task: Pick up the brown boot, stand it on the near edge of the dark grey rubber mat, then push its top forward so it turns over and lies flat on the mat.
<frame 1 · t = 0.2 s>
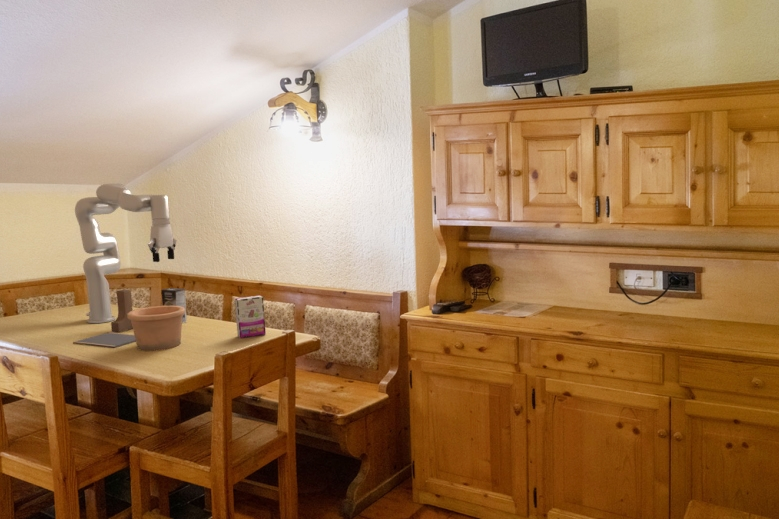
hand: (163, 260, 289), 31 cm above the table, tool pointing down, fingers open, 9 cm apart
mat: (111, 340, 270), on the table
candy bar box: (251, 336, 271), on the table
coffee box: (175, 323, 302), on the table
pottery: (159, 346, 259), on the table
brown boot: (123, 330, 289), on the table
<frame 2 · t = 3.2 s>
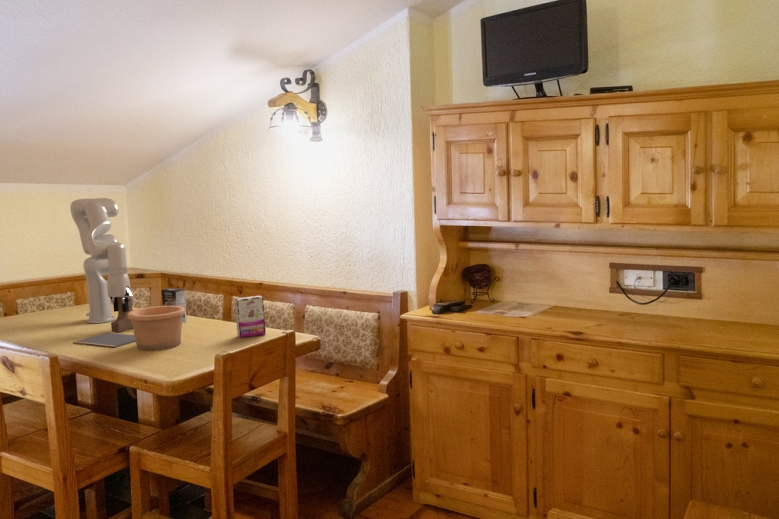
hand: (121, 311, 288), 9 cm above the table, tool pointing down, fingers closed on brown boot, 4 cm apart
brown boot: (123, 330, 289), on the table, touching gripper
everything else where it was.
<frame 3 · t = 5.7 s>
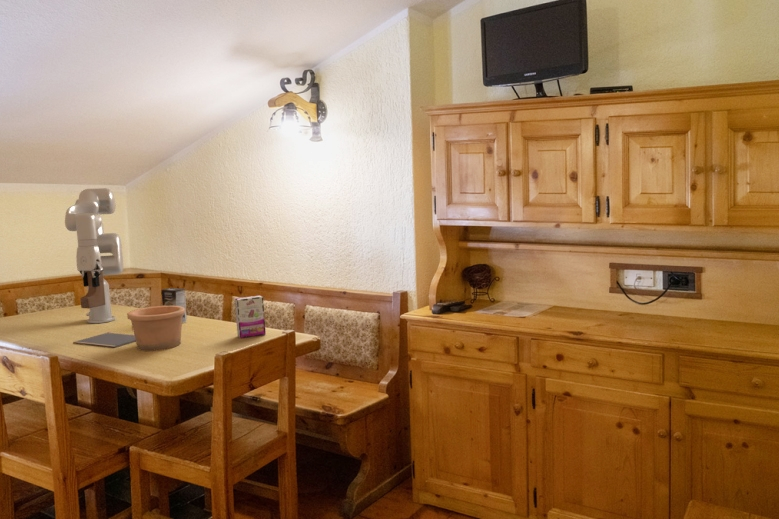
hand: (91, 285, 272), 23 cm above the table, tool pointing down, fingers closed on brown boot, 4 cm apart
brown boot: (93, 306, 273), point 14 cm above the table, touching gripper
everything else where it was.
when the fingers open (10 cm above the table, at t = 8.4 s): brown boot stays where it is, resting on mat.
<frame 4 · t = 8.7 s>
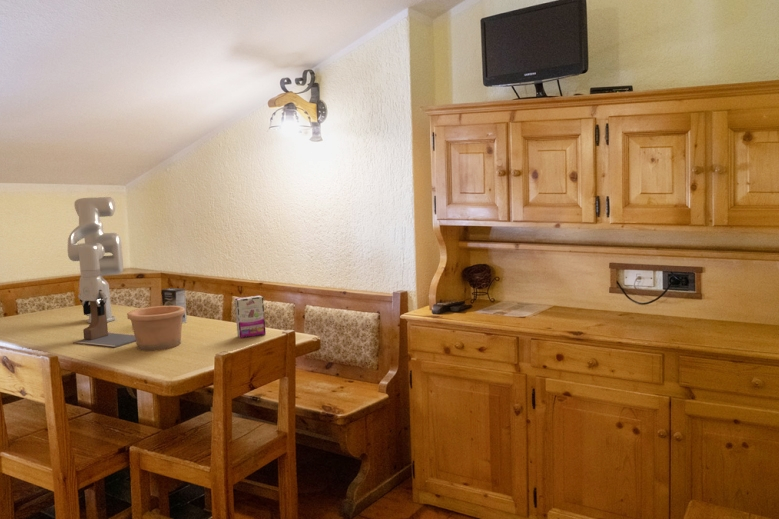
hand: (94, 314, 273), 11 cm above the table, tool pointing down, fingers open, 7 cm apart
brown boot: (96, 337, 274), resting on mat
everything else where it was.
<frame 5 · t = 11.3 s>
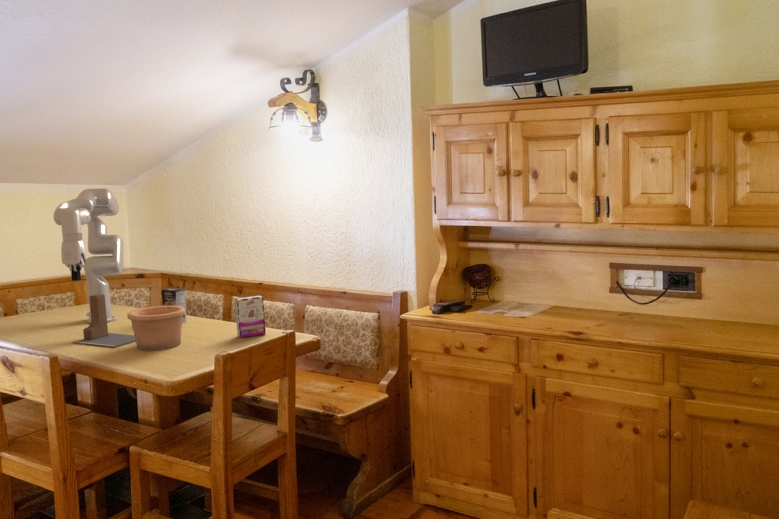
hand: (76, 280, 275), 25 cm above the table, tool pointing down, fingers closed
nothing on the table moved.
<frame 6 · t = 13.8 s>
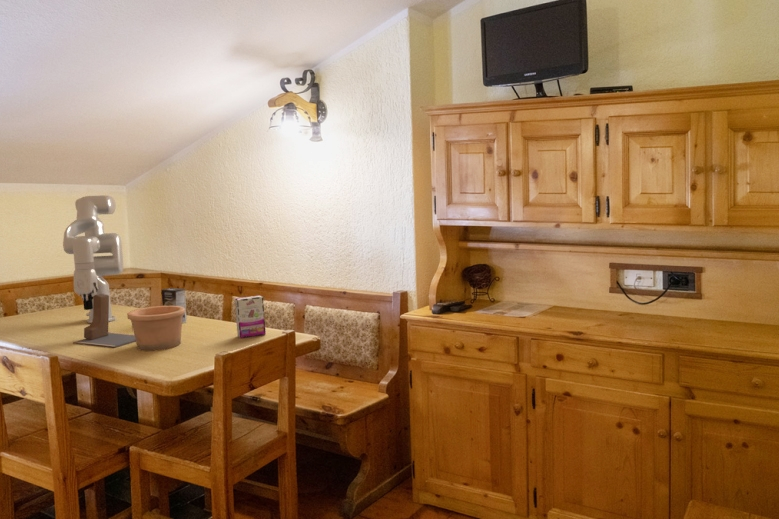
hand: (88, 309, 274), 13 cm above the table, tool pointing down, fingers closed
brown boot: (96, 337, 274), point 1 cm above the table, touching gripper, mat
everything else where it was.
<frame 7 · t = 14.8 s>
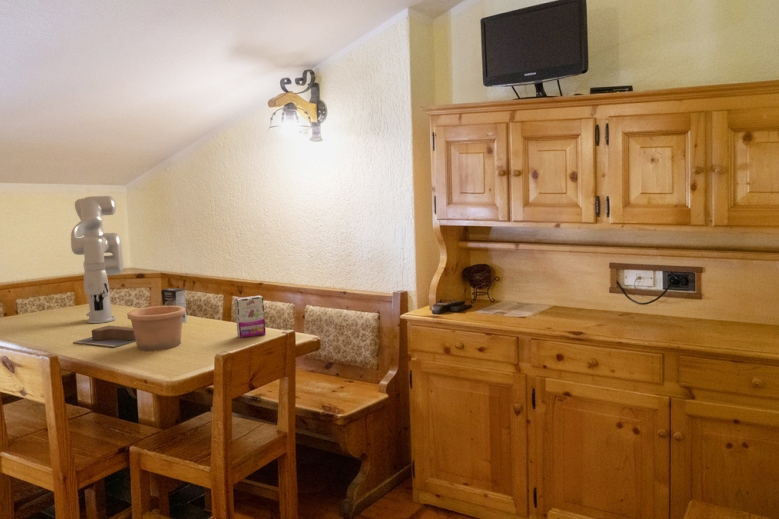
hand: (99, 310, 271), 13 cm above the table, tool pointing down, fingers closed
brown boot: (100, 332, 273), point 3 cm above the table, touching mat
everything else where it was.
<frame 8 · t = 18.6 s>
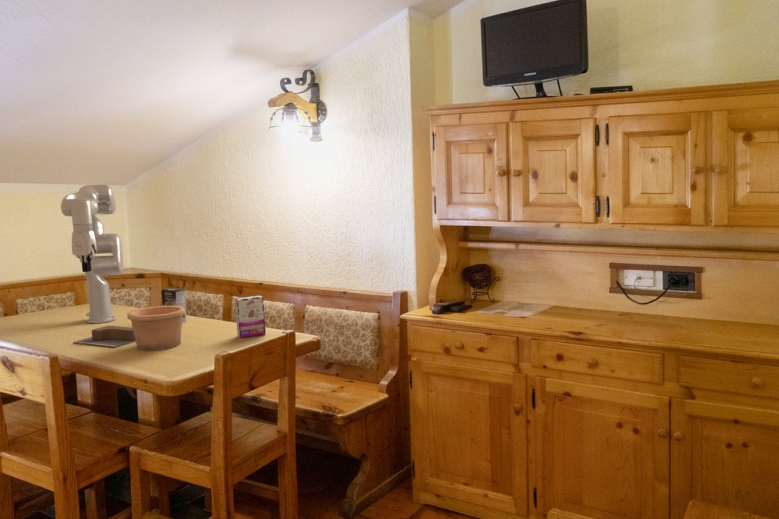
hand: (87, 271, 272), 29 cm above the table, tool pointing down, fingers closed
nothing on the table moved.
at the end: brown boot tilted 90°; brown boot inside the target area (9.2 cm from its centre), point 2.9 cm above the table; the gripper is holding nothing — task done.
